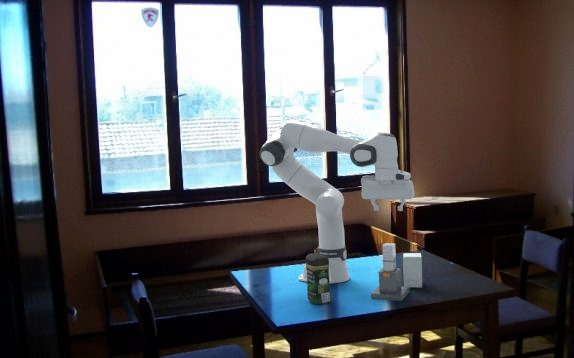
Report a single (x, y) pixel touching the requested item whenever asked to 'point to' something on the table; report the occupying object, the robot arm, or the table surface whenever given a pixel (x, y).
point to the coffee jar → (318, 278)
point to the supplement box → (412, 269)
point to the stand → (390, 286)
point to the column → (389, 257)
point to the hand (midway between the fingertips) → (388, 210)
